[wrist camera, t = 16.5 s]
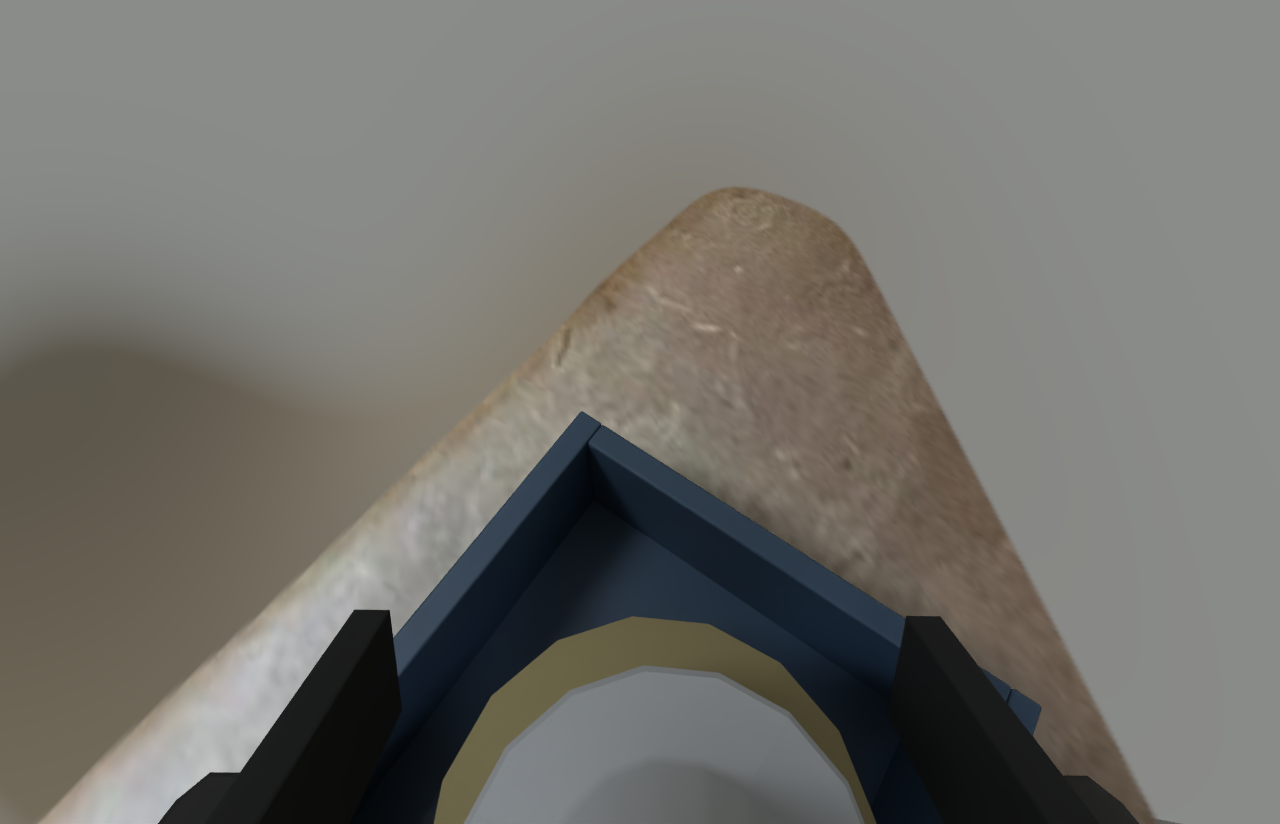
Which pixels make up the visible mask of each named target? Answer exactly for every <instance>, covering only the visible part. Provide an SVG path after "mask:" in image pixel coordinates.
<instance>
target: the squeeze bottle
mask: <svg viewBox="0 0 1280 824" xmlns="http://www.w3.org/2000/svg"><path fill="white" fill-rule="evenodd" d="M434 824H877V823H876V821H875V818H874V816H873V813H872V811H871V808H870V806H869V803H868V801H867V798H866V796H865V793H864V791H863V789H862V786H861V784H860V781H859V779H858V776H857V774H856V771H855V769H854V766H853V764H852V761H851V759H850V756H849V754H848V752H847V749H846V747H845V744H844V742H843V739H842V737H841V734H840V732H839V730H838V729H837V728H836V727H835V726H834V724H833V723H832V722H831V721H830V720H829V719H828V717H827V716H826V715H825V714H824V713H823V712H822V711H821V709H820V708H819V707H818V706H817V705H816V704H815V702H814V701H813V700H812V699H811V698H810V697H809V695H808V694H807V693H806V692H805V691H804V690H803V689H802V687H801V686H800V685H799V684H798V683H797V682H796V680H795V679H794V678H793V677H792V676H791V675H790V673H789V672H788V671H787V670H786V669H785V668H784V666H783V665H782V664H781V663H780V662H778V661H776V660H774V659H773V658H771V657H769V656H767V655H765V654H763V653H762V652H760V651H758V650H756V649H754V648H752V647H750V646H749V645H747V644H745V643H743V642H741V641H739V640H738V639H736V638H734V637H732V636H730V635H728V634H727V633H725V632H723V631H721V630H719V629H717V628H715V627H714V626H712V625H710V624H705V623H695V622H685V621H675V620H665V619H654V618H644V617H634V616H632V617H629V618H626V619H622V620H619V621H616V622H613V623H610V624H607V625H604V626H601V627H598V628H595V629H591V630H588V631H585V632H582V633H579V634H576V635H573V636H570V637H567V638H564V639H560V640H557V641H556V642H555V643H554V644H553V645H551V646H550V647H549V648H548V649H547V650H545V651H544V652H543V653H542V654H541V655H540V656H538V657H537V658H536V659H535V660H534V661H532V662H531V663H530V664H529V665H528V666H526V667H525V668H524V669H523V670H522V671H520V672H519V673H518V674H517V675H516V676H515V677H513V678H512V679H511V680H510V681H509V682H507V683H506V684H505V685H504V686H503V687H501V688H500V689H499V690H498V691H497V692H495V693H494V694H493V695H492V696H491V697H490V699H489V701H488V703H487V704H486V706H485V708H484V710H483V711H482V713H481V715H480V717H479V718H478V720H477V722H476V723H475V725H474V727H473V729H472V730H471V732H470V734H469V736H468V737H467V739H466V741H465V743H464V744H463V746H462V748H461V749H460V751H459V753H458V755H457V756H456V758H455V760H454V762H453V763H452V765H451V767H450V768H449V770H448V772H447V774H446V775H445V777H444V779H443V781H442V786H441V790H440V795H439V800H438V805H437V810H436V815H435V820H434Z"/></svg>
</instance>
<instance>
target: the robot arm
mask: <svg viewBox="0 0 1280 824" xmlns="http://www.w3.org/2000/svg"><path fill="white" fill-rule="evenodd" d="M401 712H402V704H401V696H400V688H399V680H398V673H397V665H396V657H395V649H394V641H393V633H392V625H391V617H390V610H354V611H353V613H352V614H351V615H350V617H349V618H348V620H347V621H346V622H345V624H344V625H343V627H342V628H341V630H340V631H339V632H338V634H337V635H336V637H335V638H334V640H333V641H332V642H331V644H330V645H329V647H328V648H327V650H326V651H325V652H324V654H323V655H322V657H321V658H320V660H319V661H318V662H317V664H316V665H315V667H314V668H313V669H312V671H311V672H310V674H309V675H308V677H307V678H306V679H305V681H304V682H303V684H302V685H301V687H300V688H299V689H298V691H297V692H296V694H295V695H294V697H293V698H292V699H291V701H290V702H289V704H288V705H287V706H286V708H285V709H284V711H283V712H282V714H281V715H280V716H279V718H278V719H277V721H276V722H275V724H274V725H273V726H272V728H271V729H270V731H269V732H268V734H267V735H266V736H265V738H264V739H263V741H262V742H261V744H260V745H259V746H258V748H257V749H256V751H255V752H254V753H253V755H252V756H251V758H250V759H249V761H248V762H247V763H246V765H245V766H244V768H243V769H242V771H241V772H240V773H214V772H210V773H209V774H208V775H207V776H205V777H204V778H203V779H202V780H200V781H199V782H198V783H197V784H196V785H194V786H193V787H192V788H191V789H190V790H188V791H187V792H186V793H185V794H183V795H182V796H181V797H180V798H179V799H177V800H176V801H175V802H174V804H173V805H172V806H171V808H170V809H169V810H168V811H167V813H166V814H165V815H164V817H163V818H162V819H161V820H160V822H159V823H158V824H350V822H351V819H352V817H353V815H354V813H355V811H356V809H357V807H358V804H359V802H360V800H361V798H362V796H363V794H364V791H365V789H366V787H367V785H368V783H369V781H370V778H371V776H372V774H373V772H374V770H375V768H376V766H377V763H378V761H379V759H380V757H381V755H382V753H383V750H384V748H385V746H386V744H387V742H388V740H389V737H390V735H391V733H392V731H393V729H394V727H395V725H396V722H397V720H398V718H399V716H400V714H401ZM887 714H888V716H889V718H890V720H891V722H892V724H893V726H894V728H895V730H896V732H897V734H898V735H899V737H900V739H901V741H902V743H903V745H904V747H905V749H906V751H907V753H908V755H909V757H910V759H911V761H912V763H913V765H914V767H915V769H916V770H917V772H918V774H919V776H920V778H921V780H922V782H923V784H924V786H925V788H926V790H927V792H928V794H929V796H930V798H931V800H932V802H933V804H934V806H935V807H936V809H937V811H938V813H939V815H940V817H941V819H942V821H943V823H944V824H1139V823H1138V822H1137V821H1136V819H1135V818H1134V817H1133V816H1132V815H1131V813H1130V812H1129V811H1128V810H1127V809H1126V807H1125V806H1124V805H1123V804H1122V803H1121V802H1120V801H1118V800H1117V799H1116V798H1115V797H1113V796H1112V795H1111V794H1110V793H1108V792H1107V791H1106V790H1105V789H1103V788H1102V787H1101V786H1100V785H1098V784H1097V783H1096V782H1095V781H1093V780H1092V779H1091V778H1090V777H1088V776H1063V775H1062V774H1061V773H1060V771H1059V770H1058V769H1057V767H1056V766H1055V765H1054V764H1053V762H1052V761H1051V760H1050V758H1049V757H1048V756H1047V754H1046V753H1045V752H1044V751H1043V749H1042V748H1041V747H1040V745H1039V744H1038V743H1037V741H1036V740H1035V739H1034V738H1033V736H1032V735H1031V734H1030V732H1029V731H1028V730H1027V729H1026V727H1025V726H1024V725H1023V723H1022V722H1021V721H1020V719H1019V718H1018V717H1017V716H1016V714H1015V713H1014V712H1013V710H1012V709H1011V708H1010V706H1009V705H1008V704H1007V703H1006V701H1005V700H1004V699H1003V697H1002V696H1001V695H1000V693H999V692H998V691H997V690H996V688H995V687H994V686H993V684H992V683H991V682H990V680H989V679H988V678H987V677H986V675H985V674H984V673H983V671H982V670H981V669H980V667H979V666H978V665H977V664H976V662H975V661H974V660H973V658H972V657H971V656H970V655H969V653H968V652H967V651H966V649H965V648H964V647H963V645H962V644H961V643H960V642H959V640H958V639H957V638H956V636H955V635H954V634H953V632H952V631H951V630H950V629H949V627H948V626H947V625H946V623H945V622H944V621H943V619H942V618H941V617H940V616H906V620H905V625H904V631H903V636H902V641H901V646H900V651H899V656H898V662H897V667H896V672H895V677H894V682H893V687H892V693H891V698H890V703H889V708H888V713H887Z"/></svg>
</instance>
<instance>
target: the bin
mask: <svg viewBox="0 0 1280 824" xmlns="http://www.w3.org/2000/svg"><path fill="white" fill-rule="evenodd" d="M632 616H634V617H644V618H654V619H665V620H675V621H685V622H695V623H705V624H710V625H712V626H714V627H715V628H717V629H719V630H721V631H723V632H725V633H727V634H728V635H730V636H732V637H734V638H736V639H738V640H739V641H741V642H743V643H745V644H747V645H749V646H750V647H752V648H754V649H756V650H758V651H760V652H762V653H763V654H765V655H767V656H769V657H771V658H773V659H774V660H776V661H778V662H780V663H781V664H782V665H783V666H784V668H785V669H786V670H787V671H788V672H789V673H790V675H791V676H792V677H793V678H794V679H795V680H796V682H797V683H798V684H799V685H800V686H801V687H802V689H803V690H804V691H805V692H806V693H807V694H808V695H809V697H810V698H811V699H812V700H813V701H814V702H815V704H816V705H817V706H818V707H819V708H820V709H821V711H822V712H823V713H824V714H825V715H826V716H827V717H828V719H829V720H830V721H831V722H832V723H833V724H834V726H835V727H836V728H837V729H838V730H839V732H840V734H841V737H842V739H843V742H844V744H845V747H846V749H847V752H848V754H849V756H850V759H851V761H852V764H853V766H854V769H855V771H856V774H857V776H858V779H859V781H860V784H861V786H862V789H863V791H864V793H865V796H866V798H867V801H868V803H869V806H870V808H871V811H872V813H873V816H874V818H875V821H876V823H877V824H944V823H943V821H942V819H941V817H940V815H939V813H938V811H937V809H936V807H935V806H934V804H933V802H932V800H931V798H930V796H929V794H928V792H927V790H926V788H925V786H924V784H923V782H922V780H921V778H920V776H919V774H918V772H917V770H916V769H915V767H914V765H913V763H912V761H911V759H910V757H909V755H908V753H907V751H906V749H905V747H904V745H903V743H902V741H901V739H900V737H899V735H898V734H897V732H896V730H895V728H894V726H893V724H892V722H891V720H890V718H889V716H888V714H887V713H888V708H889V703H890V698H891V693H892V687H893V682H894V677H895V672H896V667H897V662H898V656H899V651H900V646H901V641H902V636H903V631H904V625H905V620H906V619H905V618H903V617H902V616H900V615H898V614H897V613H895V612H894V611H892V610H891V609H889V608H888V607H886V606H884V605H883V604H881V603H880V602H878V601H877V600H875V599H874V598H872V597H870V596H869V595H867V594H866V593H864V592H863V591H861V590H860V589H858V588H856V587H855V586H853V585H852V584H850V583H849V582H847V581H846V580H844V579H842V578H841V577H839V576H838V575H836V574H835V573H833V572H831V571H830V570H828V569H827V568H825V567H824V566H822V565H821V564H819V563H817V562H816V561H814V560H813V559H811V558H810V557H808V556H807V555H805V554H803V553H802V552H800V551H799V550H797V549H796V548H794V547H793V546H791V545H789V544H788V543H786V542H785V541H783V540H782V539H780V538H778V537H777V536H775V535H774V534H772V533H771V532H769V531H768V530H766V529H764V528H763V527H761V526H760V525H758V524H757V523H755V522H754V521H752V520H750V519H749V518H747V517H746V516H744V515H743V514H741V513H740V512H738V511H736V510H735V509H733V508H732V507H730V506H729V505H727V504H726V503H724V502H722V501H721V500H719V499H718V498H716V497H715V496H713V495H711V494H710V493H708V492H707V491H705V490H704V489H702V488H701V487H699V486H697V485H696V484H694V483H693V482H691V481H690V480H688V479H687V478H685V477H683V476H682V475H680V474H679V473H677V472H676V471H674V470H673V469H671V468H669V467H668V466H666V465H665V464H663V463H662V462H660V461H659V460H657V459H655V458H654V457H652V456H651V455H649V454H648V453H646V452H644V451H643V450H641V449H640V448H638V447H637V446H635V445H634V444H632V443H630V442H629V441H627V440H626V439H624V438H623V437H621V436H620V435H618V434H616V433H615V432H613V431H612V430H610V429H609V428H607V427H606V426H603V425H602V426H601V423H600V422H598V421H597V420H595V419H593V418H592V417H590V416H589V415H587V414H586V413H584V412H580V413H579V414H578V416H577V417H576V418H575V419H574V420H573V422H572V423H571V424H570V425H569V426H568V428H567V429H566V430H565V431H564V433H563V434H562V435H561V436H560V437H559V439H558V440H557V441H556V442H555V443H554V445H553V446H552V447H551V448H550V449H549V451H548V452H547V453H546V454H545V456H544V457H543V458H542V459H541V460H540V462H539V463H538V464H537V465H536V466H535V468H534V469H533V470H532V471H531V472H530V474H529V475H528V476H527V477H526V478H525V480H524V481H523V482H522V483H521V485H520V486H519V487H518V488H517V489H516V491H515V492H514V493H513V494H512V495H511V497H510V498H509V499H508V500H507V501H506V503H505V504H504V505H503V506H502V507H501V509H500V510H499V511H498V512H497V514H496V515H495V516H494V517H493V518H492V520H491V521H490V522H489V523H488V524H487V526H486V527H485V528H484V529H483V530H482V532H481V533H480V534H479V535H478V537H477V538H476V539H475V540H474V541H473V543H472V544H471V545H470V546H469V547H468V549H467V550H466V551H465V552H464V553H463V555H462V556H461V557H460V558H459V559H458V561H457V562H456V563H455V564H454V566H453V567H452V568H451V569H450V570H449V572H448V573H447V574H446V575H445V576H444V578H443V579H442V580H441V581H440V582H439V584H438V585H437V586H436V587H435V589H434V590H433V591H432V592H431V593H430V595H429V596H428V597H427V598H426V599H425V601H424V602H423V603H422V604H421V605H420V607H419V608H418V609H417V610H416V611H415V613H414V614H413V615H412V616H411V618H410V619H409V620H408V621H407V622H406V624H405V625H404V626H403V627H402V628H401V630H400V631H399V632H398V633H397V634H396V636H395V637H394V638H393V641H394V649H395V657H396V665H397V673H398V680H399V688H400V696H401V704H402V712H401V714H400V716H399V718H398V720H397V722H396V725H395V727H394V729H393V731H392V733H391V735H390V737H389V740H388V742H387V744H386V746H385V748H384V750H383V753H382V755H381V757H380V759H379V761H378V763H377V766H376V768H375V770H374V772H373V774H372V776H371V778H370V781H369V783H368V785H367V787H366V789H365V791H364V794H363V796H362V798H361V800H360V802H359V804H358V807H357V809H356V811H355V813H354V815H353V817H352V819H351V822H350V824H434V820H435V815H436V810H437V805H438V800H439V795H440V790H441V786H442V781H443V779H444V777H445V775H446V774H447V772H448V770H449V768H450V767H451V765H452V763H453V762H454V760H455V758H456V756H457V755H458V753H459V751H460V749H461V748H462V746H463V744H464V743H465V741H466V739H467V737H468V736H469V734H470V732H471V730H472V729H473V727H474V725H475V723H476V722H477V720H478V718H479V717H480V715H481V713H482V711H483V710H484V708H485V706H486V704H487V703H488V701H489V699H490V697H491V696H492V695H493V694H494V693H495V692H497V691H498V690H499V689H500V688H501V687H503V686H504V685H505V684H506V683H507V682H509V681H510V680H511V679H512V678H513V677H515V676H516V675H517V674H518V673H519V672H520V671H522V670H523V669H524V668H525V667H526V666H528V665H529V664H530V663H531V662H532V661H534V660H535V659H536V658H537V657H538V656H540V655H541V654H542V653H543V652H544V651H545V650H547V649H548V648H549V647H550V646H551V645H553V644H554V643H555V642H556V641H557V640H560V639H564V638H567V637H570V636H573V635H576V634H579V633H582V632H585V631H588V630H591V629H595V628H598V627H601V626H604V625H607V624H610V623H613V622H616V621H619V620H622V619H626V618H629V617H632ZM979 667H980V666H979ZM980 669H981V670H982V671H983V673H984V674H985V675H986V677H987V678H988V679H989V680H990V682H991V683H992V684H993V686H994V687H995V688H996V690H997V691H998V692H999V693H1000V695H1001V696H1002V697H1003V699H1004V700H1005V701H1006V703H1007V704H1008V705H1009V706H1010V708H1011V709H1012V710H1013V712H1014V713H1015V714H1016V716H1017V717H1018V718H1019V719H1020V721H1021V722H1022V723H1023V725H1024V726H1025V727H1026V729H1027V730H1028V731H1029V732H1030V734H1031V735H1032V736H1033V733H1034V730H1035V727H1036V724H1037V721H1038V718H1039V715H1040V712H1041V706H1040V705H1039V704H1037V703H1036V702H1034V701H1032V700H1031V699H1029V698H1028V697H1026V696H1025V695H1023V694H1022V693H1020V692H1018V691H1017V690H1015V689H1011V687H1010V686H1009V685H1008V684H1006V683H1004V682H1003V681H1001V680H1000V679H998V678H997V677H995V676H994V675H992V674H990V673H989V672H987V671H986V670H984V669H983V668H981V667H980Z"/></svg>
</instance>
